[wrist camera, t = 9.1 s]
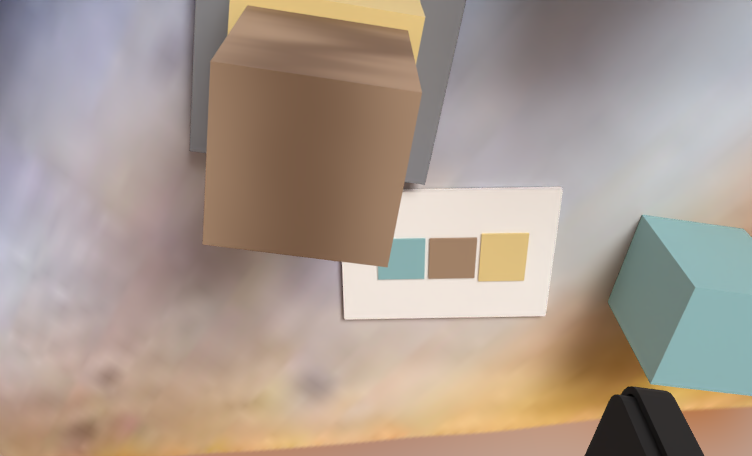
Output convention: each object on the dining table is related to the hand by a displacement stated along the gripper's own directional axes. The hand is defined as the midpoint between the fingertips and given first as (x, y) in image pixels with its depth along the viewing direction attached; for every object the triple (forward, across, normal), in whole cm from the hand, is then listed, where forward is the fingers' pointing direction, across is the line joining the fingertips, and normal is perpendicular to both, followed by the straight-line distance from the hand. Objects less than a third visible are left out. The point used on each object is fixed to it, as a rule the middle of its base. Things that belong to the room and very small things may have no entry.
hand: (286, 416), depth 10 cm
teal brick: (+21, -17, +8) cm, 29 cm away
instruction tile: (+21, -6, +9) cm, 24 cm away
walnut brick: (+15, +1, 0) cm, 15 cm away
